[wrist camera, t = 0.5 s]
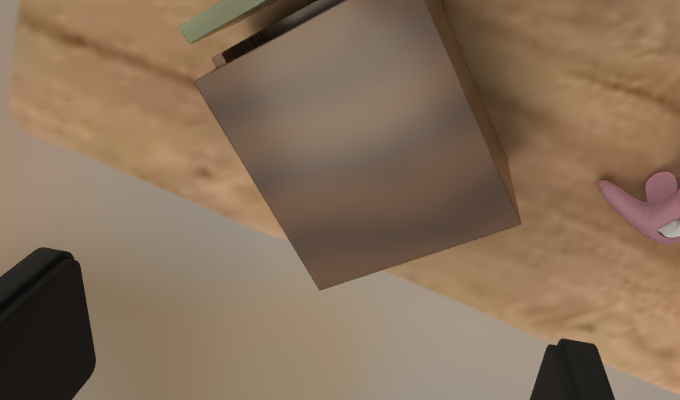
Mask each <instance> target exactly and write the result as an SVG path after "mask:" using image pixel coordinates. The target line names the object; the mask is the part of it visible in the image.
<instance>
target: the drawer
mask: <svg viewBox="0 0 680 400" xmlns="http://www.w3.org/2000/svg"><path fill="white" fill-rule="evenodd" d="M275 1H277V0H223V1H222V2H220V3H218V4H216V5H215V6H213V7H211V8H210V9H208V10H206V11H205V12H203V13H201V14H199V15H198V16H196V17H194V18H193V19H191V20H189V21H188V22H186V23H184V24H182V25H181V26H180V29H181V30H182V32H183V34H184V36H185V37H186V39H187V41H188V42H189V44H192V43H194V42H196V41H199V40H201V39H203V38H205V37H207V36H209V35H212V34H214V33H216V32H218V31H220V30H222V29H225V28H227V27H229V26H231V25H233V24H235V23H238V22H240V21H241V20H243V19H245V18H247V17H248V16H250V15H252V14H254V13H256V12H257V11H259V10H261V9H263V8H264V7H266V6H268V5H270V4H271V3H273V2H275ZM343 1H345V0H316V1H314V2H312V3H310V4H309V5H307V6H305V7H303V8H301V9H300V10H298V11H296V12H294V13H292V14H290V15H289V16H287V17H285V18H283V19H281V20H279V21H278V22H276V23H274V24H272V25H270V26H269V27H267V28H265V29H263V30H261V31H259V32H258V33H256V34H254V35H252V36H250V37H249V38H247V39H245V40H243V41H241V42H240V43H238V44H236V45H234V46H232V47H231V48H229V49H227V50H225V51H224V52H222V53H220V54H218V55H216V56H215V57H213V58H212V61H213V62H214V64H215V66H216V68H217V69H218V68H220V67H221V66H223V65H225V64H227V63H229V62H231V61H233V60H235V59H236V58H238V57H240V56H242V55H244V54H246V53H248V52H249V51H251V50H253V49H255V48H257V47H259V46H261V45H262V44H264V43H266V42H268V41H270V40H272V39H274V38H276V37H277V36H279V35H281V34H283V33H285V32H287V31H289V30H290V29H292V28H294V27H296V26H298V25H300V24H302V23H304V22H305V21H307V20H309V19H311V18H313V17H315V16H317V15H318V14H320V13H322V12H324V11H326V10H328V9H330V8H331V7H333V6H335V5H337V4H339V3H341V2H343Z"/></svg>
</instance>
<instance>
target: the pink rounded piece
mask: <svg viewBox="0 0 680 400" xmlns="http://www.w3.org/2000/svg"><path fill="white" fill-rule="evenodd" d="M598 187H599V190H600V192H601V194H602V195H603V197H604V198H605V199H606V201H607V202H608V203H609V204H610V205H611V206H612V207H613V208H614V209H615V210H616V211H617V212H618V213H619V214H620V216H621V217H622V218H624V219H625V220H626V221H627V222H628V223H629V224H631V225H632V226H633V227H634V228H636V229H637V230H638V231H639V232H640V233H642V234H643V235H644V236H646V237H647V238H648V239H651V240H653V241H655V242H657V243H659V244H662V245H671V244H676V243H679V242H680V180H679V179H677V178H676V177H675V176H674V175H673V174H671V173H670V172H659V173H656V174H654V175H653V176H651V177H650V178H649V179H648V181H647V183H646V186H645V188H646V194H647V202H643V201H640V200H638V199H636V198H634V197H633V196H631V195H630V194H629V193H627V192H626V191H624V190H623V189H621V188H620V187H618V186H617V185H615V184H613V183H612V182H609V181H607V180H601V181H599V183H598Z"/></svg>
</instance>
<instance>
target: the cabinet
mask: <svg viewBox="0 0 680 400" xmlns="http://www.w3.org/2000/svg"><path fill="white" fill-rule="evenodd" d="M194 83H195V85H196V86H197V88H198V90H199V91H200V93H201V95H202V96H203V98H204V100H205V101H206V103H207V105H208V106H209V108H210V110H211V111H212V113H213V115H214V116H215V118H216V120H217V121H218V123H219V125H220V126H221V128H222V129H223V131H224V133H225V134H226V136H227V138H228V139H229V141H230V143H231V144H232V146H233V148H234V149H235V151H236V153H237V154H238V156H239V158H240V159H241V161H242V163H243V164H244V166H245V168H246V169H247V171H248V173H249V174H250V176H251V178H252V179H253V181H254V183H255V184H256V186H257V188H258V189H259V191H260V193H261V194H262V196H263V198H264V199H265V201H266V202H267V204H268V206H269V207H270V209H271V211H272V212H273V214H274V216H275V217H276V219H277V221H278V222H279V224H280V226H281V227H282V229H283V231H284V232H285V234H286V236H287V237H288V239H289V241H290V242H291V244H292V245H293V247H294V249H295V251H296V252H297V254H298V256H299V257H300V259H301V261H302V262H303V264H304V266H305V267H306V269H307V270H308V272H309V274H310V275H311V277H312V279H313V280H314V282H315V284H316V285H317V287H318V289H319V290H323V289H326V288H329V287H332V286H335V285H338V284H341V283H344V282H347V281H350V280H353V279H356V278H360V277H363V276H366V275H369V274H372V273H375V272H378V271H381V270H384V269H387V268H390V267H393V266H396V265H399V264H402V263H405V262H408V261H411V260H414V259H418V258H421V257H424V256H427V255H430V254H433V253H436V252H439V251H442V250H445V249H448V248H451V247H454V246H457V245H460V244H463V243H466V242H469V241H472V240H475V239H478V238H481V237H485V236H488V235H491V234H494V233H497V232H500V231H503V230H506V229H509V228H512V227H515V226H518V225H521V220H520V216H519V211H518V207H517V202H516V198H515V193H514V189H513V184H512V180H511V175H510V171H509V166H508V162H507V158H506V156H505V153H504V151H503V149H502V146H501V144H500V141H499V139H498V137H497V134H496V132H495V129H494V127H493V125H492V122H491V120H490V117H489V115H488V113H487V110H486V108H485V106H484V103H483V101H482V98H481V96H480V94H479V91H478V89H477V86H476V84H475V82H474V79H473V77H472V74H471V72H470V70H469V67H468V65H467V62H466V60H465V58H464V55H463V53H462V50H461V48H460V46H459V43H458V41H457V39H456V36H455V34H454V31H453V29H452V27H451V24H450V22H449V19H448V17H447V15H446V12H445V10H444V7H443V5H442V3H441V0H345V1H343V2H341V3H339V4H337V5H335V6H333V7H331V8H330V9H328V10H326V11H324V12H322V13H320V14H318V15H317V16H315V17H313V18H311V19H309V20H307V21H305V22H304V23H302V24H300V25H298V26H296V27H294V28H292V29H290V30H289V31H287V32H285V33H283V34H281V35H279V36H277V37H276V38H274V39H272V40H270V41H268V42H266V43H264V44H262V45H261V46H259V47H257V48H255V49H253V50H251V51H249V52H248V53H246V54H244V55H242V56H240V57H238V58H236V59H235V60H233V61H231V62H229V63H227V64H225V65H223V66H221V67H220V68H218V69H217V68H215V69H214V70H212V71H211V72H209V73H207V74H206V75H204V76H202V77H201V78H199V79H197V80H196V81H195V82H194Z"/></svg>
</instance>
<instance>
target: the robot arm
mask: <svg viewBox="0 0 680 400" xmlns="http://www.w3.org/2000/svg"><path fill="white" fill-rule="evenodd" d="M95 363H96V357H95V351H94V345H93V339H92V333H91V327H90V321H89V315H88V309H87V303H86V297H85V291H84V285H83V279H82V273H81V267H80V264H79V263H78V261H76V260H74V257H73V255H72V254H71V253H69V252H67V251H61V250H55V249H50V248H44V247H43V248H38V249H37V250H35V251H33V252H32V253H31V254H29V255H28V256H27V257H26V258H24V259H23V260H22V261H20V262H19V263H18V264H16V265H15V266H14V267H13V268H11V269H10V270H9V271H7V272H6V273H5V274H4V275H2V276H1V277H0V400H72V399H73V398H74V396H75V395H76V393H78V391H79V390H80V389H81V388H82V386H83V385H84V384H85V383H86V381H87V380H88V379H89V378H90V376H91V375H92V373H93V371H94V368H95ZM530 400H615V398H614V395H613V392H612V390H611V387H610V384H609V381H608V378H607V375H606V372H605V369H604V366H603V363H602V361H601V358H600V355H599V352H598V349H597V347H596V345H594V344H591V343H586V342H580V341H574V340H569V339H561V340H560V341H559V342H558V344H557V346H556V345H548V347H547V348H546V351H545V354H544V358H543V361H542V364H541V367H540V370H539V373H538V376H537V379H536V382H535V385H534V388H533V391H532V395H531V398H530Z"/></svg>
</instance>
